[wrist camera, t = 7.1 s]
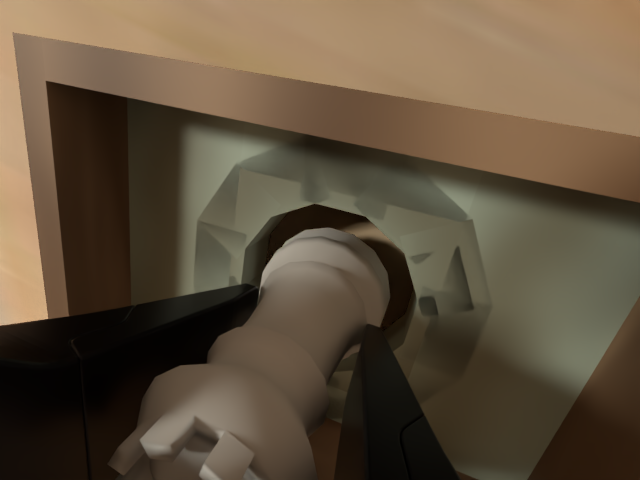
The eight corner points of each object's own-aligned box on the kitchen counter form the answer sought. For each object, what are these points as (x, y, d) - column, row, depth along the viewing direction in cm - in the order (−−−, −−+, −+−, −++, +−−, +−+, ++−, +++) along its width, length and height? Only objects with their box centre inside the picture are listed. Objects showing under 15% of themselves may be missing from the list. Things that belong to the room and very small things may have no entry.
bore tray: (695, 171, 8) (974, 193, 4) (518, 471, 12) (572, 634, 8) (149, 72, 12) (12, 32, 8) (148, 325, 16) (56, 386, 12)
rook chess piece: (386, 345, 12) (336, 688, 4) (276, 324, 13) (86, 563, 5) (397, 230, 10) (355, 430, 3) (274, 219, 11) (21, 341, 4)
